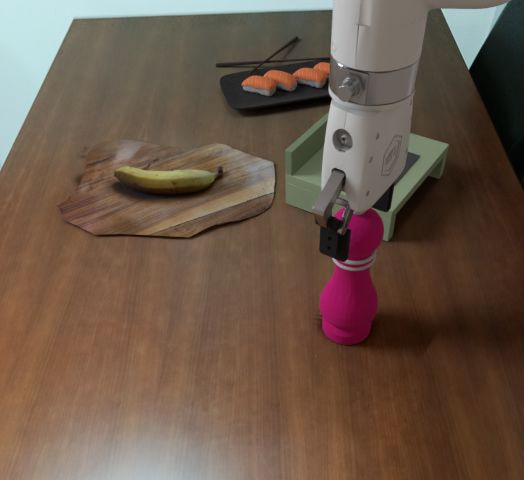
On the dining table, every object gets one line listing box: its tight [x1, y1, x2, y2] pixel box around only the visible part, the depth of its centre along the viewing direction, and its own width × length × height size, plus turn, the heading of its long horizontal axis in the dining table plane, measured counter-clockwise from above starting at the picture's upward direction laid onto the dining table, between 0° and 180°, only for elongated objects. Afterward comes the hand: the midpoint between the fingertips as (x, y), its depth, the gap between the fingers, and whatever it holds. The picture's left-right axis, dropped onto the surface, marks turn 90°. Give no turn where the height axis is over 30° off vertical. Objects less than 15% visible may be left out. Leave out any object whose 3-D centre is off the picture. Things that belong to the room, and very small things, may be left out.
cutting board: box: [55, 138, 276, 238], centre depth 96 cm, size 35×27×4 cm
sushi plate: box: [215, 35, 331, 111], centre depth 119 cm, size 29×30×4 cm
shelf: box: [284, 111, 450, 242], centre depth 91 cm, size 18×20×10 cm
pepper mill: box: [318, 207, 384, 346], centre depth 68 cm, size 7×7×20 cm
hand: (355, 230), depth 63 cm, fingers open, 9 cm apart
